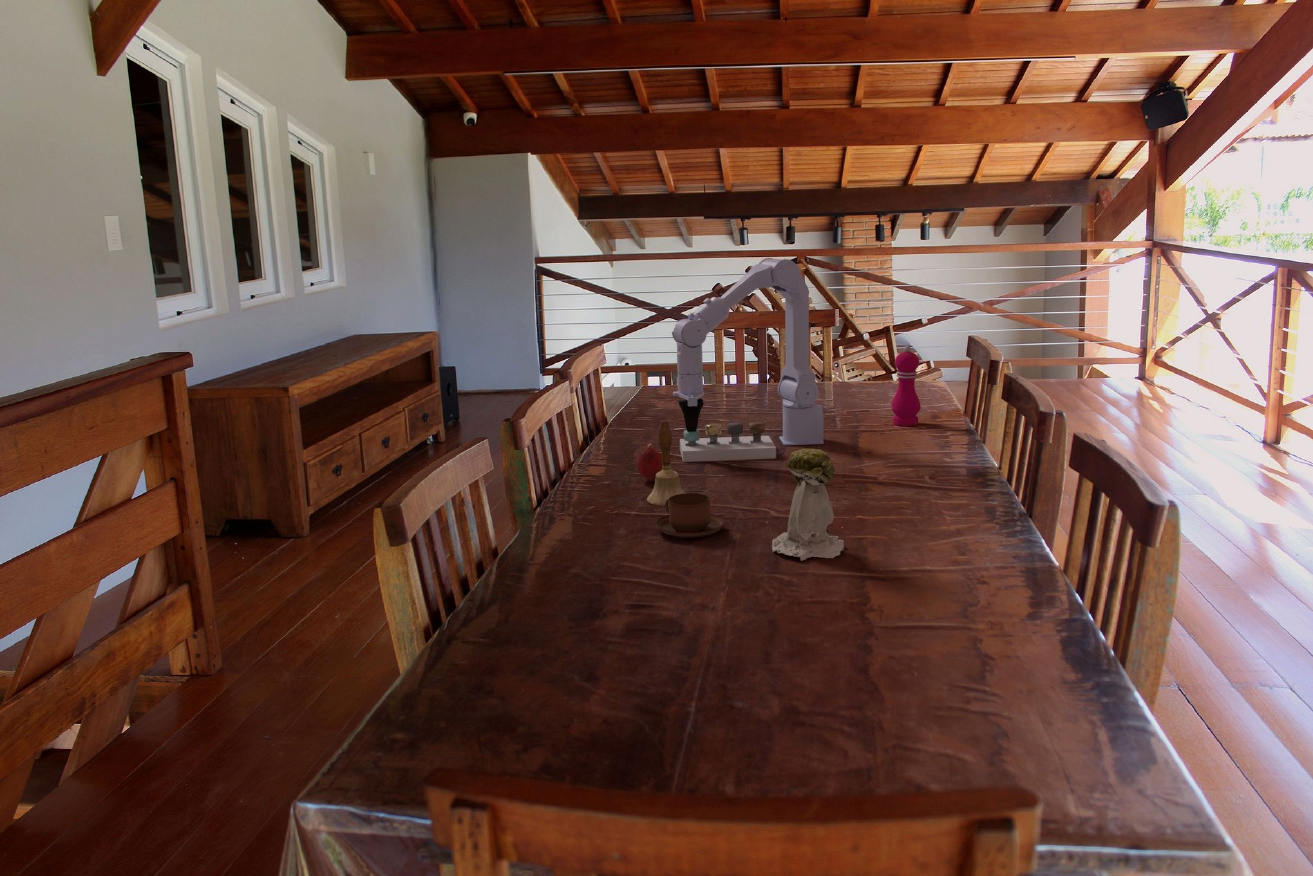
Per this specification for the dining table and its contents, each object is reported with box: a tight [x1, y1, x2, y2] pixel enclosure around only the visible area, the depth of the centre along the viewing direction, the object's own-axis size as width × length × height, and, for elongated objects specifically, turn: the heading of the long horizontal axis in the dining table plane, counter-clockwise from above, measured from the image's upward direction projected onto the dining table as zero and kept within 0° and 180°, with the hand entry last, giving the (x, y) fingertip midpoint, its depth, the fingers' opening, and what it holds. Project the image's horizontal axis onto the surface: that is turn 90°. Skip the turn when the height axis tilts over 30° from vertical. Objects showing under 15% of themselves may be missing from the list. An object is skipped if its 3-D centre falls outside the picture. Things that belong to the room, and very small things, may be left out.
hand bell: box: [646, 419, 686, 507], centre depth 195 cm, size 8×8×16 cm
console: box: [679, 435, 777, 463], centre depth 231 cm, size 21×12×2 cm, turn 92°
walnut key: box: [748, 421, 766, 442], centre depth 230 cm, size 4×4×4 cm
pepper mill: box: [890, 345, 921, 427], centre depth 253 cm, size 7×7×20 cm
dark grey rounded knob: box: [726, 422, 744, 443], centre depth 230 cm, size 4×4×4 cm
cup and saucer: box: [655, 492, 725, 539], centre depth 177 cm, size 12×12×6 cm
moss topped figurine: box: [771, 448, 845, 561], centre depth 165 cm, size 11×12×17 cm
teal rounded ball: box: [683, 429, 701, 446], centre depth 230 cm, size 4×4×4 cm
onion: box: [636, 443, 663, 482], centre depth 210 cm, size 6×6×8 cm
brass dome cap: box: [704, 422, 722, 444], centre depth 230 cm, size 4×4×4 cm
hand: (691, 431), depth 230 cm, fingers closed, pressing on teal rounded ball
